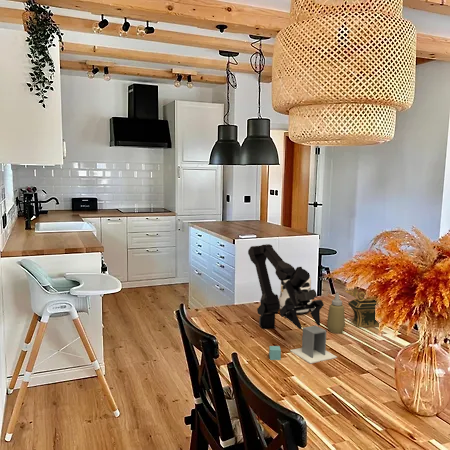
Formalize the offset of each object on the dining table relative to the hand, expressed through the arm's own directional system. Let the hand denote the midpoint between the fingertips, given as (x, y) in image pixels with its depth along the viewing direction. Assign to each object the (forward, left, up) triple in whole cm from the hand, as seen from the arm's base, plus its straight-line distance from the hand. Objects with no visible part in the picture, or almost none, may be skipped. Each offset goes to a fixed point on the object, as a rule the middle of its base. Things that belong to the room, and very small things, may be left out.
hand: (310, 327), depth 173 cm
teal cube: (+15, +4, -10) cm, 19 cm away
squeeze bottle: (-19, -22, -11) cm, 31 cm away
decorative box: (-36, -30, -11) cm, 48 cm away
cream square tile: (-1, +2, -10) cm, 11 cm away
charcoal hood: (-1, +2, -10) cm, 10 cm away
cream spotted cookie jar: (-8, -52, -11) cm, 53 cm away
